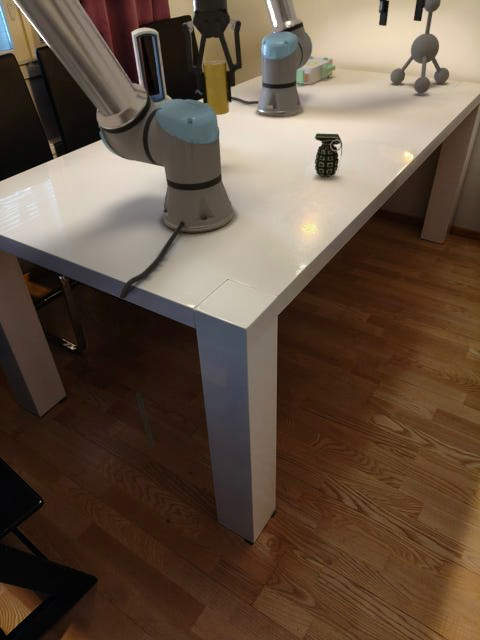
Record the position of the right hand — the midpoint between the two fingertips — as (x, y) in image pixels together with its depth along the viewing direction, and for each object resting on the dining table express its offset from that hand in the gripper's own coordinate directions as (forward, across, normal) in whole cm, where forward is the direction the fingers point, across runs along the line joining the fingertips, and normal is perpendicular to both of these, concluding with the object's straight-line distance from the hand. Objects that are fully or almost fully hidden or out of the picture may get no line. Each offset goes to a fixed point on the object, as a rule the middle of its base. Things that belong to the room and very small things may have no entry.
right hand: (400, 23), depth 153 cm
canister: (+11, -72, -21) cm, 76 cm away
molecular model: (+25, +28, +15) cm, 40 cm away
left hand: (+8, -72, -21) cm, 76 cm away
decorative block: (+25, 0, +55) cm, 60 cm away
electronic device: (+25, -80, +9) cm, 84 cm away
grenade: (+25, -52, -41) cm, 71 cm away
